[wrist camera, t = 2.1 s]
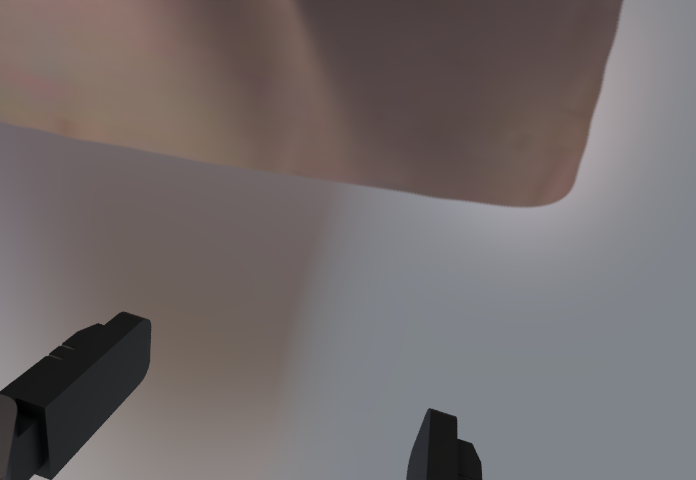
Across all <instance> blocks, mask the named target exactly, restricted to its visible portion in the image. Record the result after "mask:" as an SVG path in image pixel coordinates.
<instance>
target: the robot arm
mask: <svg viewBox="0 0 696 480" xmlns="http://www.w3.org/2000/svg"><path fill="white" fill-rule="evenodd" d="M150 343H151V322H150V320H149V319H145V318H143V317H139V316H136V315H133V314H130V313H127V312H121V313H119V314H118V315H116V316H115V317H114V318H113V319H111V320H110V321H109V322H108V323H106V324H105V325H102V324H99V323H98V324H95V325H93V326H90V327H88V328H85V329H83V330H80V331H78V332H76V333H75V334H74V335H73V336H71V337H70V338H69V339H67V340H66V341H65V342H64V343H63V344H62V346H58V347H57V348H56V349H55V350H53V351H52V352H51V353H49V356H45V357H44V358H43V359H41V360H40V361H39V362H38V363H36V364H35V365H34V366H33V367H31V368H30V369H28V370H27V371H26V372H25V373H23V374H22V375H21V376H20V377H18V378H17V379H16V380H14V381H13V382H12V383H10V384H9V385H8V386H6V387H5V388H4V389H3V390H1V391H0V480H29V479H30V478H31V477H32V476H33V475H34V474H36V475H39V476H42V477H44V478H47V479H49V480H52V479H53V478H54V477H55V476H56V475H57V474H58V472H59V471H60V470H61V469H62V468H63V467H64V466H65V465H66V464H67V462H69V460H70V459H71V458H72V457H73V456H74V455H75V454H76V453H77V452H78V451H79V449H80V448H81V447H82V446H83V445H84V444H85V443H86V442H87V441H88V440H89V439H90V438H91V436H92V435H93V434H94V433H95V432H96V431H97V430H98V429H99V428H100V427H101V426H102V424H103V423H104V422H105V421H106V420H107V419H108V418H109V417H110V415H112V413H113V412H114V411H115V410H116V409H117V408H118V407H119V406H120V405H121V404H122V403H123V402H124V400H125V399H126V398H127V397H128V396H129V395H130V394H131V393H132V392H133V391H134V390H135V389H136V387H137V386H138V385H139V384H140V383H141V382H142V380H143V379H144V377H145V375H146V373H147V370H148V368H149V363H150ZM481 468H482V467H481V461H480V459H479V457H478V455H477V453H476V451H475V448H474V446H473V444H472V443H469V442H466V441H463V440H460V439H457V417H456V416H453V415H449V414H446V413H443V412H440V411H437V410H434V409H431V408H429V409H428V410H427V412H426V415H425V417H424V420H423V423H422V425H421V428H420V431H419V433H418V436H417V438H416V441H415V443H414V446H413V449H412V452H411V456H410V459H409V465H408V470H407V480H482V469H481Z"/></svg>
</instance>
